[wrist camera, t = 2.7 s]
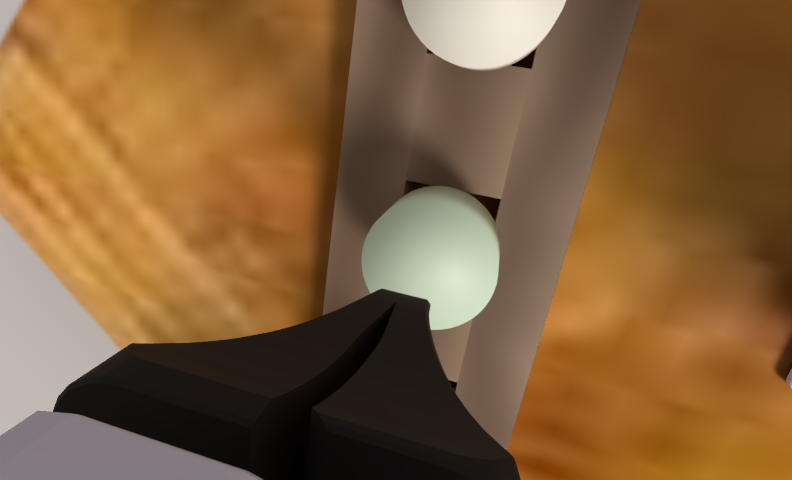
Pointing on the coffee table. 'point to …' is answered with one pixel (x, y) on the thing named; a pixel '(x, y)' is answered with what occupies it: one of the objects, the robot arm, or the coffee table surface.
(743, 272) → the coffee table surface
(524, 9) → the button cream
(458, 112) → the console
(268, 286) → the coffee table surface
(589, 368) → the coffee table surface
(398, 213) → the button sage
